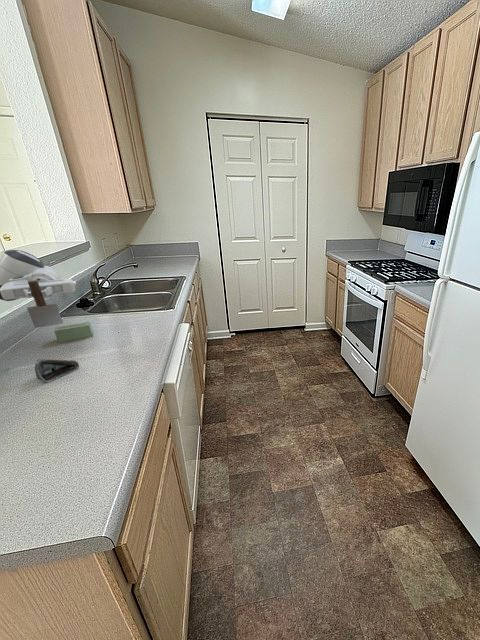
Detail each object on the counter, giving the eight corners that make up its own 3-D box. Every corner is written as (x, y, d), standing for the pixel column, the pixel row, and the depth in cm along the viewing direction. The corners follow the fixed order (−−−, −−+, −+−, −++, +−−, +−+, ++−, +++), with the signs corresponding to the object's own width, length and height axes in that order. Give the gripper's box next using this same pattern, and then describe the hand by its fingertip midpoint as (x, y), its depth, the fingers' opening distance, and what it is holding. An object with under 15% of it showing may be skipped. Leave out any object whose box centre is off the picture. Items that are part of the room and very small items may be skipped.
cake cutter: (34, 328, 109) (16, 283, 102) (35, 326, 111) (17, 282, 104) (62, 324, 113) (47, 280, 106) (63, 322, 115) (48, 278, 108)
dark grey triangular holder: (70, 364, 117) (32, 350, 108) (81, 362, 114) (42, 348, 104) (60, 389, 114) (19, 378, 105) (70, 389, 110) (29, 377, 101)
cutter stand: (59, 344, 132) (53, 330, 129) (60, 340, 136) (55, 326, 133) (93, 338, 137) (89, 325, 134) (93, 334, 141) (89, 321, 138)
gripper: (79, 289, 123) (77, 299, 112) (10, 297, 114) (1, 308, 103) (74, 272, 120) (71, 280, 109) (3, 279, 111) (-8, 288, 100)
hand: (36, 294), depth 106 cm, fingers closed on cake cutter, 2 cm apart
